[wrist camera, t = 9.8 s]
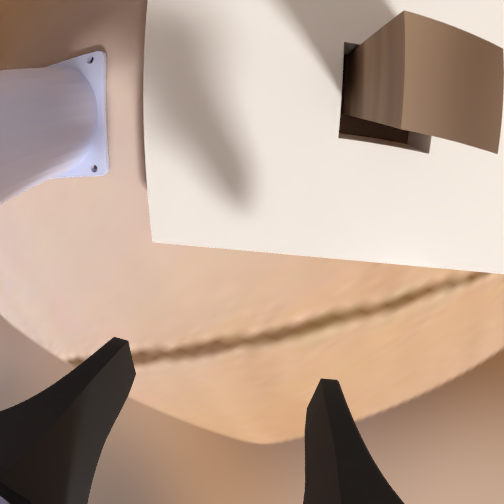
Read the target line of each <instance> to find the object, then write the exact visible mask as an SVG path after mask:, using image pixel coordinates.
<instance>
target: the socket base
mask: <svg viewBox="0 0 504 504" xmlns="http://www.w3.org/2000/svg"><path fill="white" fill-rule="evenodd" d="M404 10H405V11H409V12H412V13H415V14H419V15H422V16H425V17H428V18H432V19H435V20H437V21H440V22H443V23H446V24H449V25H451V26H454V27H457V28H459V29H462V30H464V31H466V32H469V33H471V34H474V35H476V36H478V37H480V38H482V39H485V40H487V41H489V42H491V43H493V44H495V45H497V46H499V47H501V48H503V54H504V0H148V1H147V13H146V26H145V43H144V73H143V114H144V145H145V164H146V179H147V192H148V203H149V214H150V223H151V232H152V241H153V242H156V243H167V244H178V245H189V246H200V247H212V248H223V249H234V250H245V251H256V252H267V253H278V254H289V255H301V256H312V257H323V258H334V259H345V260H356V261H367V262H378V263H389V264H400V265H411V266H422V267H433V268H444V269H455V270H466V271H477V272H488V273H498V274H504V94H503V111H502V123H501V133H500V141H499V149H498V154H495V153H492V152H489V151H486V150H482V149H479V148H476V147H472V146H469V145H465V144H462V143H458V142H454V141H451V140H447V139H443V138H439V137H434V136H430V135H426V134H421V133H417V132H412V131H409V135H408V143H407V144H404V143H399V142H394V141H388V140H382V139H377V138H371V137H364V136H358V135H351V134H343V133H339V124H340V111H341V97H342V80H343V57H344V54H348V55H349V54H350V53H351V52H352V51H353V50H355V49H356V48H357V47H358V46H359V45H361V44H362V43H363V42H364V41H365V40H367V39H368V38H369V37H370V36H372V35H373V34H374V33H375V32H377V31H378V30H379V29H380V28H382V27H383V26H384V25H385V24H387V23H388V22H389V21H391V20H392V19H393V18H394V17H396V16H397V15H398V14H400V13H401V12H402V11H404Z"/></svg>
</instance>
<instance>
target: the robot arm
mask: <svg viewBox="0 0 504 504" xmlns="http://www.w3.org/2000/svg"><path fill="white" fill-rule="evenodd" d="M92 57H93V62H92V63H91V58H92ZM94 165H96V166H97V171H96V170H95V168H94ZM109 168H110V166H109V154H108V139H107V119H106V53H105V52H103V51H95V52H91V53H88V54H84V55H81V56H77V57H74V58H71V59H68V60H65V61H62V62H59V63H56V64H53V65H50V66H47V67H45V68H22V69H8V70H0V204H2V203H4V202H6V201H8V200H9V199H11V198H13V197H15V196H17V195H19V194H21V193H23V192H24V191H26V190H28V189H30V188H32V187H34V186H36V185H38V184H40V183H43V182H45V181H47V180H49V179H51V178H63V177H84V176H103V175H105V174H107V173H108V172H109ZM135 375H136V372H135V369H134V364H133V360H132V356H131V352H130V347H129V343H128V341H127V340H123V339H120V338H116V337H114V338H112V339H111V340H110V341H108V342H107V343H106V344H105V345H104V346H102V347H101V348H100V349H99V350H98V351H96V352H95V353H94V354H93V355H91V356H90V357H89V358H88V359H87V360H85V361H84V362H83V363H81V364H80V365H79V366H78V367H76V368H75V369H74V370H73V371H71V372H70V373H69V374H67V375H66V376H64V377H63V378H62V379H60V380H59V381H57V382H56V383H55V384H53V385H52V386H50V387H49V388H47V389H45V390H44V391H42V392H40V393H39V394H37V395H35V396H33V397H31V398H29V399H28V400H26V401H24V402H22V403H19V404H17V405H15V406H13V407H10V408H8V409H5V410H3V411H0V504H87V503H88V497H89V493H90V489H91V484H92V480H93V477H94V473H95V470H96V466H97V463H98V460H99V457H100V454H101V451H102V448H103V445H104V443H105V441H106V438H107V436H108V434H109V432H110V430H111V428H112V426H113V424H114V422H115V420H116V418H117V417H118V415H119V413H120V411H121V409H122V407H123V405H124V403H125V401H126V399H127V397H128V395H129V392H130V389H131V387H132V384H133V381H134V378H135ZM303 504H404V503H403V502H402V500H401V499H400V498H399V496H398V495H397V494H396V493H395V491H393V489H392V488H391V486H390V485H389V484H388V482H387V481H386V479H385V478H384V476H383V475H382V473H381V472H380V470H379V468H378V467H377V465H376V464H375V462H374V460H373V459H372V457H371V455H370V453H369V451H368V449H367V448H366V445H365V444H364V442H363V439H362V438H361V435H360V433H359V431H358V429H357V427H356V424H355V422H354V420H353V418H352V415H351V413H350V410H349V408H348V406H347V403H346V400H345V398H344V395H343V392H342V390H341V387H340V384H339V382H338V380H331V379H321V380H320V382H319V384H318V386H317V388H316V390H315V393H314V395H313V397H312V399H311V401H310V403H309V405H308V407H307V414H306V424H305V493H304V501H303Z"/></svg>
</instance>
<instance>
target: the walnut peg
mask: <svg viewBox="0 0 504 504" xmlns="http://www.w3.org/2000/svg"><path fill="white" fill-rule="evenodd" d="M503 94H504V54H503V48H501V47H499V46H497V45H495V44H493V43H491V42H489V41H487V40H485V39H482V38H480V37H478V36H476V35H474V34H471V33H469V32H466V31H464V30H462V29H459V28H457V27H454V26H451V25H449V24H446V23H443V22H440V21H437V20H435V19H432V18H428V17H425V16H422V15H419V14H415V13H412V12H409V11H405V10H404V11H402V12H401V13H400V14H398V15H397V16H396V17H394V18H393V19H392V20H391V21H389V22H388V23H387V24H385V25H384V26H383V27H382V28H380V29H379V30H378V31H377V32H375V33H374V34H373V35H372V36H370V37H369V38H368V39H367V40H365V41H364V42H363V43H362V44H361V45H359V46H358V47H357V48H356V49H355V50H353V51H352V52H351V53H350V54H349V55H348V56H346V61H345V89H344V107H343V114H344V115H348V116H353V117H357V118H361V119H365V120H369V121H373V122H377V123H380V124H384V125H388V126H391V127H395V128H398V129H402V130H407V131H412V132H417V133H421V134H426V135H430V136H434V137H439V138H443V139H447V140H451V141H454V142H458V143H462V144H465V145H469V146H472V147H476V148H479V149H482V150H486V151H489V152H492V153H495V154H498V149H499V141H500V133H501V123H502V111H503Z"/></svg>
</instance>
